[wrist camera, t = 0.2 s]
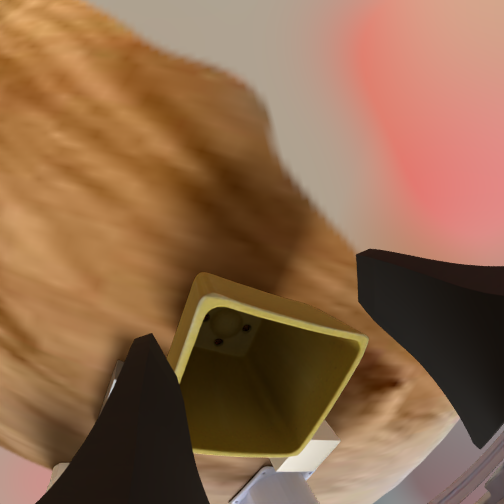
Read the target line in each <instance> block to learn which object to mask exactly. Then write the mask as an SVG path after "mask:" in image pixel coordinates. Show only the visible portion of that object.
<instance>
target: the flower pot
mask: <svg viewBox="0 0 504 504" xmlns="http://www.w3.org/2000/svg"><path fill="white" fill-rule="evenodd" d="M206 314H208V315H209V318H208V319H207V320H203V319H204V317H205V315H206ZM245 325H249V326H250V329H249V330H248V331H243V327H244V326H245ZM218 338H219V339H222V343H221V344H219V345H217V344H215V340H216V339H218ZM368 340H369V338H368V336H366V335H365V334H363V333H361V332H359V331H357V330H355V329H353V328H352V327H350V326H348V325H346V324H345V323H343V322H341V321H339V320H337V319H335V318H334V317H332V316H330V315H328V314H326V313H324V312H323V311H321V310H319V309H317V308H315V307H312V306H310V305H307V304H304V303H301V302H298V301H294V300H290V299H287V298H284V297H280V296H277V295H273V294H270V293H267V292H264V291H261V290H258V289H255V288H252V287H248V286H245V285H242V284H239V283H236V282H233V281H231V280H228V279H225V278H222V277H219V276H216V275H214V274H211V273H207V272H201V273H199V274H198V275H197V276H196V277H195V279H194V281H193V284H192V287H191V290H190V293H189V296H188V299H187V301H186V304H185V307H184V310H183V313H182V316H181V319H180V322H179V325H178V328H177V331H176V333H175V336H174V339H173V342H172V345H171V348H170V351H169V353H168V356H167V360H168V362H169V364H170V366H171V367H172V369H173V371H174V372H175V374H176V375H177V378H178V382H179V385H180V389H181V393H182V396H183V400H184V404H185V410H186V416H187V422H188V428H189V433H190V439H191V444H192V449H193V453H198V454H207V455H219V456H232V457H265V458H281V457H291V456H297V455H299V454H300V453H301V452H302V451H303V449H304V448H305V447H306V446H307V444H308V443H309V442H310V440H311V439H312V437H313V436H314V434H315V433H316V431H317V430H318V428H319V427H320V425H321V424H322V422H323V421H324V419H325V418H326V416H327V415H328V413H329V411H330V410H331V408H332V407H333V405H334V404H335V402H336V400H337V399H338V397H339V396H340V394H341V392H342V391H343V389H344V387H345V386H346V384H347V383H348V381H349V379H350V378H351V376H352V374H353V373H354V371H355V369H356V367H357V365H358V364H359V362H360V360H361V358H362V356H363V354H364V352H365V349H366V347H367V344H368Z"/></svg>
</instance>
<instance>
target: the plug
mask: <svg viewBox="0 0 504 504" xmlns="http://www.w3.org/2000/svg"><path fill="white" fill-rule="evenodd" d="M340 441H341V440H340V438H339V437H338V436H337V435H336V433H335V432H334V431H333V429H332V428H331V427H330V426H329V424H328V423H327V422H326V420H325V419H324V421H323V422H322V424H321V425H320V427H319V428H318V430H317V431H316V433H315V434H314V436H313V437H312V439H311V440H310V442H309V443H308V444H307V446H306V447H305V448H304V449H303V451H302V452H301V453H300V454H299V455H297V456H291V457H281V458H269V459H270V461H271V463H272V465H273V467H274V469H275V471H276V472H306V471H314V470H315V469H316V468H317V467H318V466H319V465H320V464H321V463H322V462H323V461H324V460H325V459H326V457H327V456H328V455H329V454H330V453H331V452H332V451H333V450H334V448H335V447H336V446H337V445H338V444H339V443H340Z"/></svg>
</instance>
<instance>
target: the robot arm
mask: <svg viewBox="0 0 504 504" xmlns="http://www.w3.org/2000/svg"><path fill="white" fill-rule="evenodd" d="M356 261H357V279H358V302H359V303H360V304H361V305H362V307H363V308H364V309H365V310H366V312H367V313H368V314H369V315H370V316H371V318H372V319H373V320H374V321H375V322H376V323H377V324H378V325H379V326H380V327H381V328H383V329H384V330H385V331H386V332H387V333H388V334H389V335H390V336H391V337H392V338H394V339H395V340H396V341H397V342H398V343H399V344H400V345H401V346H402V347H404V348H405V349H406V350H407V351H408V352H409V353H410V354H411V355H412V356H413V357H414V358H415V359H416V360H417V361H418V362H419V363H420V364H421V365H422V366H423V367H424V368H425V370H426V371H427V372H428V373H429V374H430V376H431V377H432V378H433V379H434V381H435V382H436V383H437V384H438V386H439V387H440V388H441V390H442V391H443V393H444V394H445V395H446V397H447V398H448V400H449V401H450V403H451V404H452V406H453V407H454V409H455V410H456V412H457V413H458V415H459V417H460V418H461V420H462V422H463V424H464V426H465V427H466V429H467V431H468V433H469V435H470V437H471V439H472V442H473V443H474V444H475V445H476V446H477V447H478V448H479V449H481V448H482V447H483V446H484V445H485V444H486V443H487V442H488V441H489V440H490V439H491V438H492V437H493V435H494V434H495V433H496V432H497V431H498V430H499V429H500V427H501V426H502V425H503V424H504V266H475V265H464V264H455V263H449V262H442V261H436V260H431V259H425V258H420V257H415V256H410V255H405V254H400V253H395V252H389V251H384V250H377V249H368V250H366V251H363V252H361V253H359V254H356ZM503 458H504V431H503V433H502V434H501V435H500V436H499V437H498V438H497V439H496V441H495V442H494V443H493V444H492V445H491V446H490V447H489V449H487V451H486V452H485V453H484V454H483V455H482V456H481V457H480V458H479V459H478V460H477V461H476V462H475V463H474V464H473V465H472V466H471V467H470V468H469V469H468V470H467V471H466V472H465V473H464V474H463V475H461V476H460V477H459V478H458V479H457V480H456V481H455V482H453V483H452V484H451V485H450V486H449V487H448V488H446V489H445V490H444V491H443V492H442V493H440V494H439V495H438V496H437V497H436V498H435V499H433V500H432V501H430V502H429V503H428V504H459V503H461V502H462V501H463V500H464V499H465V498H466V497H467V496H468V495H469V494H470V493H471V492H472V491H473V490H475V489H476V487H478V486H479V485H480V484H481V483H482V481H483V480H484V479H485V478H486V477H487V476H488V475H489V474H490V473H491V472H492V471H493V470H494V469H495V468H496V466H498V464H499V463H500V462H501V461H502V460H503ZM315 471H316V469H315V470H314V471H306V472H276V471H275V469H274V467H269V466H266V467H263V468H262V469H261V470H260V471H259V472H258V473H257V474H256V475H255V476H254V478H253V479H252V480H251V481H250V482H249V483H248V484H247V485H246V486H245V487H244V488H243V489H242V490H241V491H240V492H239V493H238V495H237V496H236V497H235V498H234V499H233V500H232V501H231V502H230V503H229V504H320V503H319V502H318V500H317V498H316V497H315V495H314V493H313V492H312V490H311V488H310V487H309V485H308V483H307V482H306V480H307V479H308V478H309V477H310V476H311V475H312V474H313V473H314V472H315ZM485 488H486V489H487V490H488V491H487V492H486V494H484V495H483V496H482V497H481V498H480V499H479V500H478V501H477V502H476V503H475V504H504V463H503V464H502V465H501V466H500V467H499V468H498V469H497V470H496V471H495V472H494V474H493V475H492V476H491V477H490V479H489V480H488V481H487V483H486V484H485ZM35 504H210V503H209V501H208V498H207V496H206V493H205V491H204V488H203V485H202V482H201V480H200V477H199V474H198V471H197V467H196V463H195V459H194V454H193V449H192V444H191V439H190V433H189V428H188V422H187V416H186V410H185V404H184V400H183V396H182V393H181V389H180V385H179V382H178V378H177V375H176V374H175V372H174V371H173V369H172V367H171V366H170V364H169V362H168V360H167V359H166V357H165V355H164V354H163V352H162V350H161V348H160V347H159V345H158V343H157V341H156V339H155V338H154V336H153V334H152V333H151V334H148V335H145V336H142V337H139V338H136V339H134V342H133V344H132V346H131V348H130V350H129V353H128V355H127V357H126V360H125V362H124V364H123V366H122V369H121V371H120V373H119V376H118V378H117V380H116V382H115V385H114V387H113V389H112V391H111V393H110V395H109V397H108V399H107V401H106V403H105V406H104V408H103V410H102V412H101V414H100V416H99V418H98V419H97V421H96V423H95V425H94V427H93V428H92V430H91V432H90V433H89V435H88V437H87V438H86V440H85V442H84V443H83V445H82V446H81V448H80V449H79V451H78V452H77V454H76V455H75V456H74V458H73V459H72V461H71V462H70V464H69V465H68V466H67V468H66V469H65V471H64V472H63V473H62V474H61V476H60V477H59V478H58V479H57V481H56V482H55V483H54V484H53V485H52V486H51V488H50V489H49V490H48V491H47V492H46V493H45V495H43V496H42V498H41V499H40V500H39V501H38V502H36V503H35Z"/></svg>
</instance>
